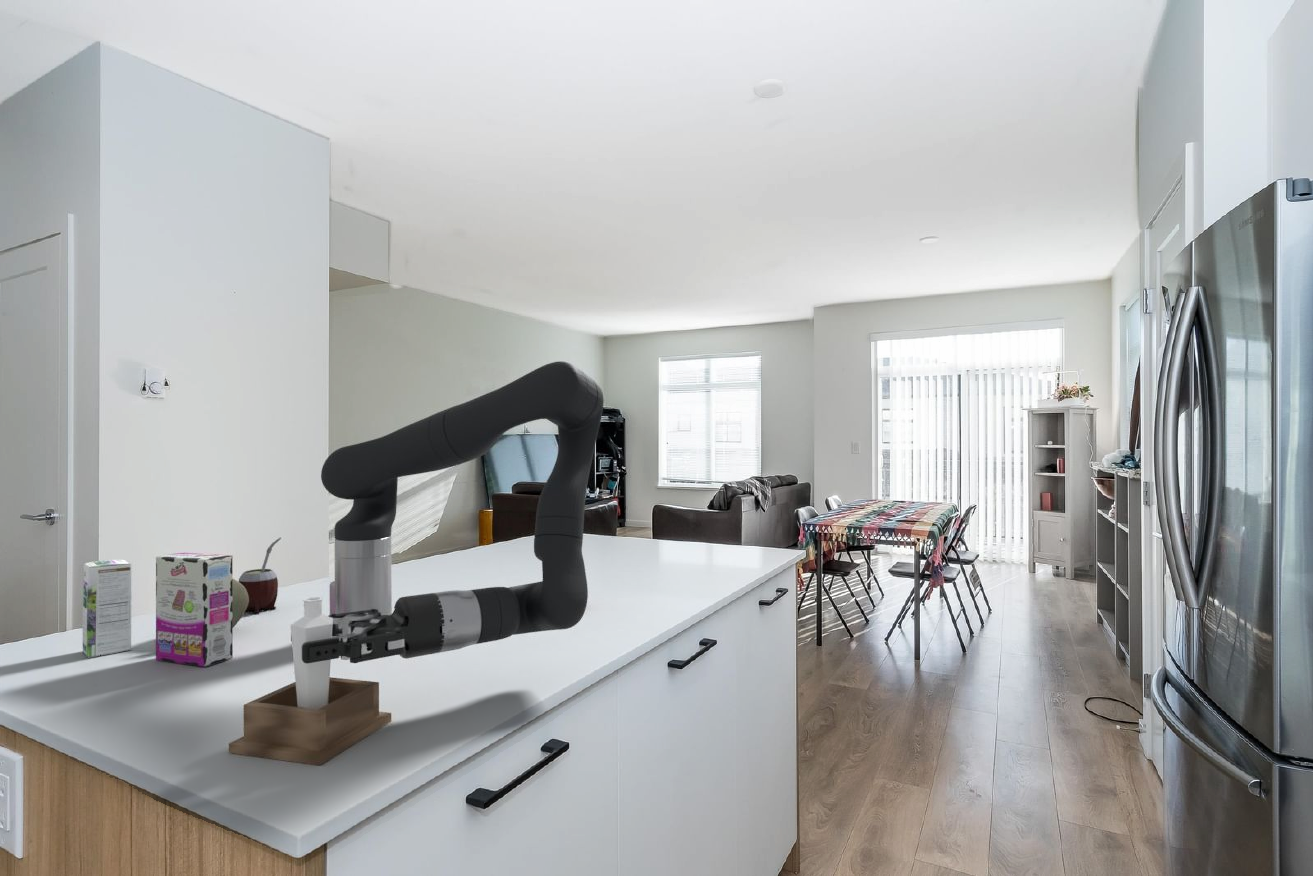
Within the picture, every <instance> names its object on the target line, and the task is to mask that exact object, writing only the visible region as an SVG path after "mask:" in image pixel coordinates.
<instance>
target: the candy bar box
mask: <svg viewBox="0 0 1313 876" xmlns="http://www.w3.org/2000/svg"><path fill="white" fill-rule="evenodd" d="M233 576H234V575H233V555H228V554H216V553H215V554H213V553H198V552H197V553H196V552H195V553H194V552H179V553H178V552H177V553H171V554H164V555H159V556H156V557H155V660H156V661H159V662H160V661H161V662H167V663H175V664H180V665H187V666H195V667H203V668H205V667H207V668H208V667H209V666H213V665H216V664H220V663H223V662H226V661H229V660H232V659H233V653H234V652H233V650H234V649H233V628H232V616H233V613H232V600H233V594H232V590H233V587H232V578H233V579H234V577H233Z"/></svg>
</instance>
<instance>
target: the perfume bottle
mask: <svg viewBox="0 0 1313 876" xmlns="http://www.w3.org/2000/svg"><path fill="white" fill-rule="evenodd" d="M323 599H324V597H323V596H314V597H313V596H311V597H307V598H304V599H302V601H303V611H304V612H303V615H304V616H302V617H301V618H299V619H298V620H296V621H294V622H293V623H291V624H290V625H289V626H290V638H291V637H292V642H291V645H292V656H293V667H294V668H293V669H294V680H295V681H294V682H296V693H297V704H298V707H302V708H311V709H320V708H322V707H324V706H325V705H327V704H328V698H329V680H330V676H331V664H332V663H331V660H332V659H331V660H325V661H319V662H313V663H304V662H303V661H302V645H303V643H305V642H309V641H316V640H322V639H329V638H332V627H333V618H331V617H329V615H326V614H323V606H322V605H323V602H322V601H323Z"/></svg>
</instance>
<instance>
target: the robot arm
mask: <svg viewBox="0 0 1313 876" xmlns="http://www.w3.org/2000/svg"><path fill="white" fill-rule="evenodd" d="M603 409H604V393H603V390H602V388H601V386H600V385H599V384H598V383H597V382H596V380H594V379H593V378H592V377H590V376H589V375H588V374H586V373H585V372H584V371H583V370H582V369H580V368H579V367H577V366H576V365H574V364H572V363H570V362H566V361H560V360H559V361H553V362H550V363H549V362H548V363H547V364H544V365H542V366H540V367H538V368H535V369H533V370H531V371H530V372H528V373H526V374H525V375H522V376H521V377H518V378H517V379H514V380H513V381H511V382H509V383H507V384H506V385H503V386H501V387H499V388H497V389H495V390H492V391H489V392H488V393H485V394H483V395H480V396H478V397H476V398H473V399H470V400H468V401H466V402H463V403H460V404H457V405H454V406H452V407H449V408H446V409H443V410H441V411H438V412H436V413H434V414H431V415H429V416H427V417H425V418H422V419H420V420H418V421H415V422H413V423H410V424H408V425H406V426H403V427H401V428H399V429H397V430H395V431H393V432H390V433H388V434H385V435H383V436H380V437H377V438H374V439H370V440H367V441H363V442H359V443H355V444H350V445H347V446H343V447H340V448H337V449H335V450H334V451H333V452H332V453H330V454H329V456H328V457H326V459H325V461H324V463H323V465H322V468H321V473H320V474H321V475H320V480H321V484H322V485H323V488H325V490H326V491H327V492H328V493H329V494H331V495H332V496H334V497H335V498H337V499H338V498H339V499H341V500H342V499H343V500H350V501H351V500H352V501H353V504H352V507H351V509H350V511H349V512H348V513H347V514H345V515H344V516H343V517H342V518H341V519H339V520H337V521H336V523H335V524H334V537H333V538H334V543H333V545H334V580H333V581H331V582H330V583H329V615H328V616H329V617H331V618H333V627H332V638H329V639H322V640H316V641H309V642H305V643H303V645H302V661H303V662H304V663H313V662H319V661H325V660H334V659H340V660H341V661H342V660H343V661H348V660H349V663H351V664H358V663H361V662H367V661H372V660H378V659H382V658H383V659H384V658H388V657H392V656H393V657H394V656H398V655H399V656H400V657H401V658H403V659H412V658H416V657H423V656H428V655H434V654H440V653H444V652H450V651H451V652H452V651H456V650H461V649H463V648H466V647H469V646H474V645H478V644H483V643H488V642H489V643H490V642H495V641H496V642H497V641H499V640H504V639H506V638H509V637H511V636H513V635H522V634H523V635H524V634H529V633H538V632H546V631H548V632H549V631H555V630H556V631H558V630H559V631H560V630H561V631H562V630H567V629H571V628H573V627H575V626H576V625H577V624H579V622H580V621H581V619H583V616H584V614H585V612H586V609H587V605H588V597H589V595H588V594H589V589H588V581H587V574H586V568H585V567H586V566H585V560H584V557H583V540H584V528H585V527H584V524H585V511H586V510H585V509H586V508H585V507H586V498H587V497H586V496H587V489H588V483H589V482H588V481H589V477H590V471H591V468H592V467H591V466H592V461H593V457H594V452H595V448H596V443H597V440H598V439H597V438H598V434H599V429H600V427H601V421H602V415H603ZM538 420H547V421H549V422H550V423H553V424H554V425H556V426H557V435H558V447H557V457H556V460H555V463H554V466H553V468H552V470H551V473H550V474H549V476H548V478H547V480H546V482H545V484H544V487H543V488H542V490H541V493H540V496H539V499H538V503H537V506H536V507H537V508H536V512H535V513H536V514H535V515H536V516H535V526H534V539H533V552H534V556H535V557H536V559H537V560H539V561H541V566H542V567H541V568H542V570H541V571H542V572H541V573H542V580H541V581H536V582H532V583H525V584H521V585H515V586H510V587H506V586H492V587H491V586H490V587H484V588H476V589H469V590H465V589H464V590H458V589H457V590H445V591H437V592H430V593H423V594H422V593H421V594H416V595H407V596H402V597H399V598H398V599H397V600H396V602H395V603H394V607H392V606H393V605H392V602H393V601H392V597H393V596H392V594H393V593H392V588H393V587H392V585H393V584H392V529H393V524H394V522H395V520H396V516H397V503H398V502H397V501H398V478H403V477H406V476H413V475H421V474H425V473H431V472H436V471H441V470H445V469H449V468H453V467H456V466H459V465H462V464H465V463H467V462H470V461H473V460H477V459H478V458H481V457H482V456H484V455H486V454H487V453H488V452H489V451H490V450H491V449H493V447H494V446H495V445H496V444H497V443H498V441H499V440H500V438H501V437H502V436H503V435H504V434H506V433H507V431H509V430H511V429H513V428H516V427H519V426H521V425H525V424H527V423H530V422H534V421H538ZM392 608H393V612H392ZM290 641H291V643H292V637H291V636H290Z"/></svg>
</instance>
